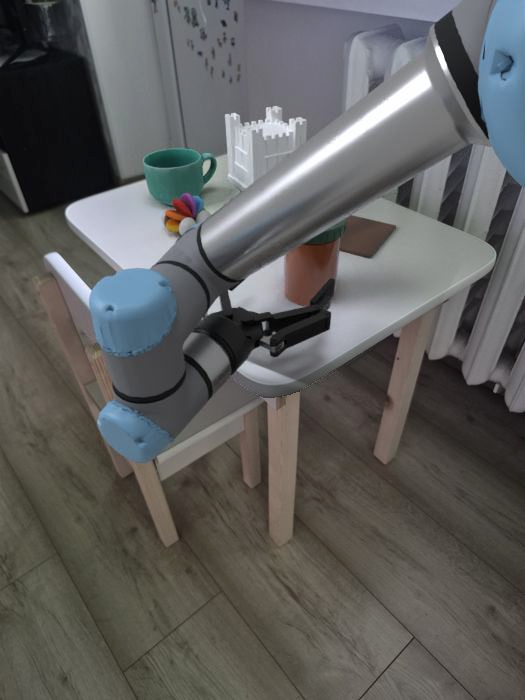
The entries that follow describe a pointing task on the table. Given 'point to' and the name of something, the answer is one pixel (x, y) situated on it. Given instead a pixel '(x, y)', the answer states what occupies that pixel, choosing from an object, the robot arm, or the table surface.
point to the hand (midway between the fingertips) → (290, 274)
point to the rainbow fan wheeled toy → (185, 213)
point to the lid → (330, 233)
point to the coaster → (364, 236)
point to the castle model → (260, 145)
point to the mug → (176, 173)
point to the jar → (310, 270)
